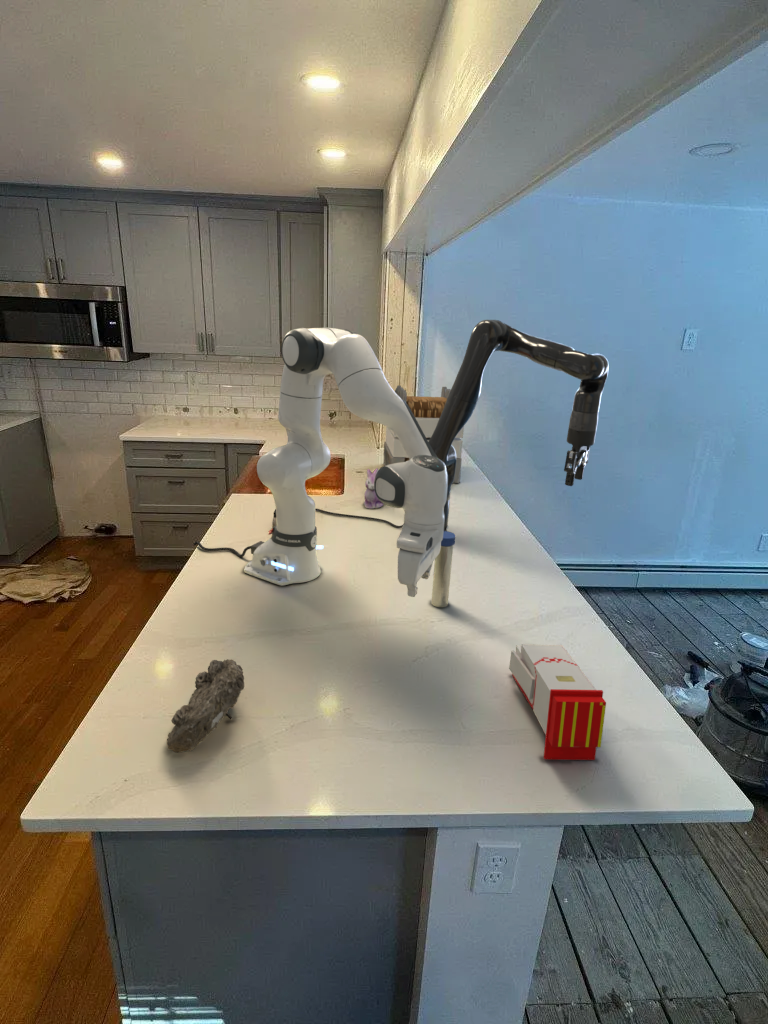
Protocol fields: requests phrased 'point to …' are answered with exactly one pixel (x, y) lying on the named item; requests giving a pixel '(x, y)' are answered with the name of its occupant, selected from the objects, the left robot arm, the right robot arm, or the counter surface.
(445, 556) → the metal cylinder
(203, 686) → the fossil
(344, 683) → the counter surface
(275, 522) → the figurine character
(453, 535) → the lid
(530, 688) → the toy
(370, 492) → the figurine
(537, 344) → the right robot arm
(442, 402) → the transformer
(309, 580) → the left robot arm
